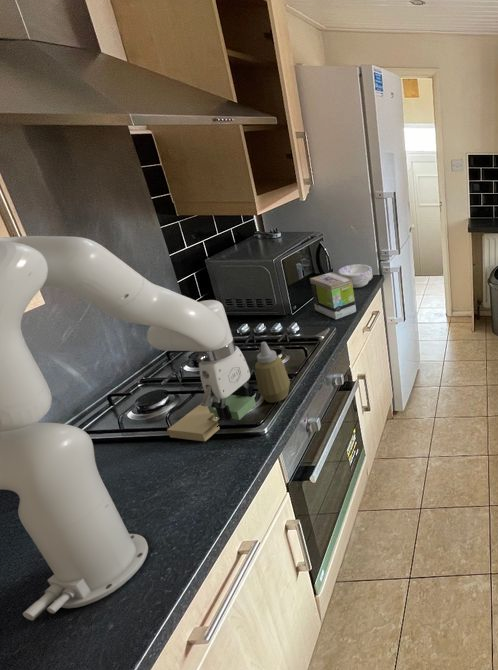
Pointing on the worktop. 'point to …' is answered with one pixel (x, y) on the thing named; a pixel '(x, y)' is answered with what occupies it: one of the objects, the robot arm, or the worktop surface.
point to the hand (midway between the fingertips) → (235, 409)
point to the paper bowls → (357, 274)
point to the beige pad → (195, 425)
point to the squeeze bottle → (271, 375)
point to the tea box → (333, 295)
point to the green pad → (236, 406)
